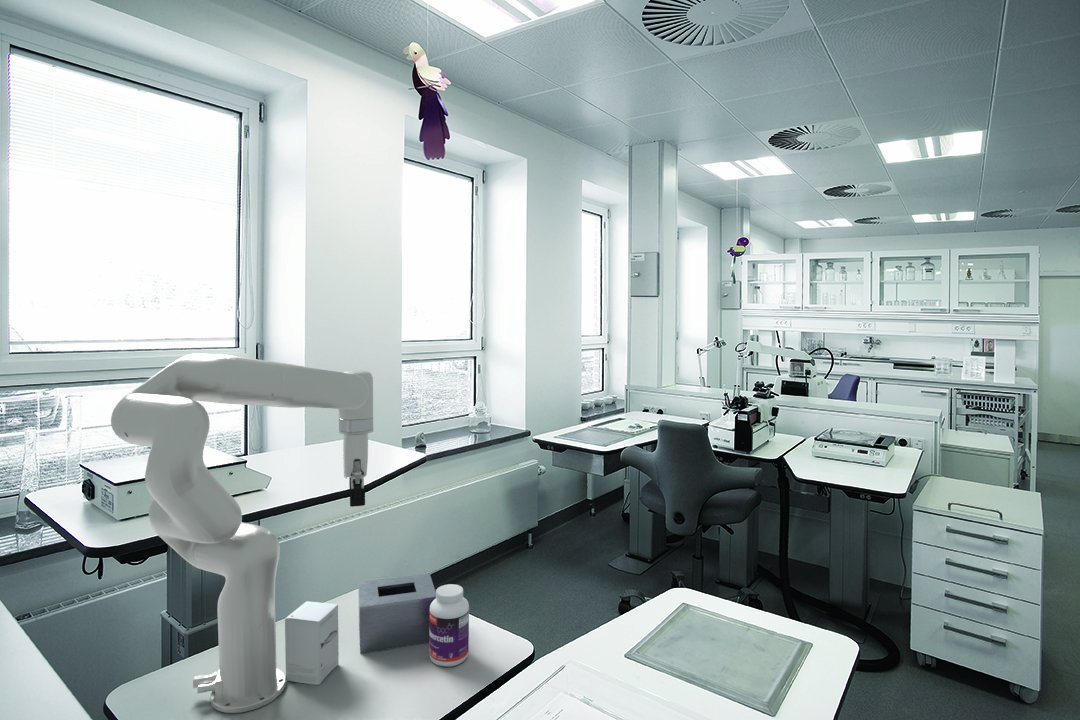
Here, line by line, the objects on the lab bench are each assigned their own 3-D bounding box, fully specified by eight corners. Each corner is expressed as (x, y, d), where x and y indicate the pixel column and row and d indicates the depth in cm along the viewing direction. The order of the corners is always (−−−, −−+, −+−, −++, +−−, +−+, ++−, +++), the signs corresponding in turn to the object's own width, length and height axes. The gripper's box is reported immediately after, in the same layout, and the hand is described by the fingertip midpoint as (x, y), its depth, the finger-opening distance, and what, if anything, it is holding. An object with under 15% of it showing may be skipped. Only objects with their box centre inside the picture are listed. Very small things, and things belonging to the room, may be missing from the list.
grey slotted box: (360, 653, 123) (359, 607, 122) (358, 625, 134) (358, 582, 134) (437, 641, 128) (437, 596, 127) (429, 614, 140) (429, 573, 139)
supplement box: (319, 686, 112) (318, 622, 111) (284, 681, 114) (283, 617, 113) (340, 664, 119) (339, 603, 118) (307, 659, 121) (305, 599, 120)
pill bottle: (421, 662, 120) (420, 593, 119) (445, 643, 127) (445, 578, 126) (453, 673, 117) (453, 602, 116) (476, 653, 124) (476, 586, 123)
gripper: (339, 419, 141) (340, 490, 142) (338, 433, 125) (339, 512, 126) (371, 418, 144) (372, 487, 145) (375, 431, 127) (376, 509, 128)
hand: (357, 499), depth 135 cm, fingers open, 9 cm apart
